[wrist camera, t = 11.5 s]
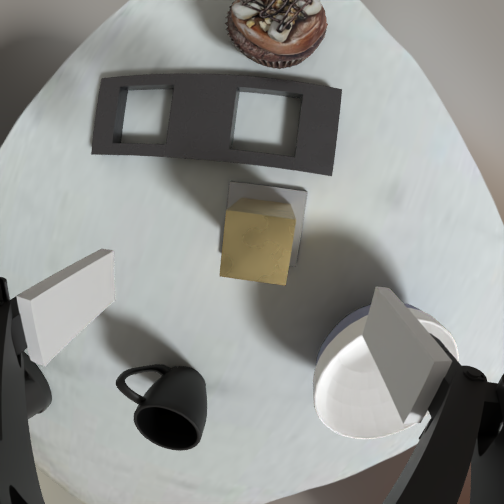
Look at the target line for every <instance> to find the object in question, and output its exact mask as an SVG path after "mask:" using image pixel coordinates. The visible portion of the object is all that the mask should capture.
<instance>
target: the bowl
mask: <svg viewBox="0 0 504 504" xmlns="http://www.w3.org/2000/svg"><path fill="white" fill-rule="evenodd" d="M403 304H404V303H403ZM404 305H405V306H406V307H407V308H408V309H409V310H410V312H411V313H412V314H413V315H414V316H415V317H416V318H417V320H418V321H419V322H420V323H421V324H422V325H423V326H424V328H425V329H426V330H427V331H428V332H429V333H431V334H432V335H434V336H435V337H437V338H438V339H439V340H440V341H441V342H442V343H443V344H444V345H445V347H446V348H447V349H448V350H449V352H450V353H451V354H452V355H453V356H454V357H455V359H456V360H457V361H458V362H459V353H458V349H457V345H456V341H455V340H454V338H453V336H452V335H451V333H450V332H449V331H448V330H447V329H446V328H445V327H443V326H442V325H441V324H440V323H439V322H438V321H437V320H436V319H435V318H433V317H432V316H431V315H429V314H427V313H425V312H423V311H421V310H420V309H418V308H416V307H414V306H412V305H409V304H404ZM370 306H371V305H368V306H365V307H363V308H360V309H358V310H356V311H354V312H353V313H351V314H349V315H348V316H347V317H345V318H344V319H343V320H342V321H340V322H339V324H338V325H337V326H336V327H335V328H334V329H333V330H332V331H331V332H330V334H329V335H328V336H327V338H326V339H325V341H324V342H323V344H322V346H321V348H320V351H319V353H318V356H317V362H316V368H315V372H314V378H313V395H314V407H315V410H316V412H317V415H318V417H319V418H320V420H321V421H322V422H323V423H324V425H325V426H326V427H328V428H329V429H330V430H332V431H333V432H335V433H337V434H340V435H342V436H345V437H350V438H354V439H373V438H381V437H385V436H389V435H392V434H395V433H398V432H400V431H403V430H405V429H407V428H409V427H411V426H413V425H415V424H416V423H412V424H403V422H402V420H401V418H400V416H399V413H398V411H397V409H396V406H395V404H394V402H393V400H392V398H391V395H390V393H389V391H388V389H387V387H386V384H385V382H384V380H383V378H382V376H381V374H380V372H379V369H378V367H377V365H376V363H375V361H374V359H373V357H372V355H371V353H370V351H369V349H368V346H367V344H366V342H365V340H364V338H363V336H362V334H363V331H364V327H365V324H366V320H367V317H368V313H369V310H370ZM429 414H430V413H429V411H427V412H426V414H425V416H424V418H425V417H426V416H427V415H429Z"/></svg>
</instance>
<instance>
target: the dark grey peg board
mask: <svg viewBox="0 0 504 504" xmlns="http://www.w3.org/2000/svg"><path fill="white" fill-rule="evenodd" d="M146 89H174V91H173V98H172V104H171V111H170V119H169V126H168V134H167V143H166V145H160V144H126V143H121V137H122V128H123V121H124V113H125V106H126V100H127V94H128V90H146ZM239 92H251V93H262V94H271V95H279V96H287V97H294V98H301V99H302V101H301V109H300V118H299V126H298V134H297V142H296V150H295V157H289V156H282V155H274V154H267V153H258V152H250V151H241V150H232V145H233V137H234V129H235V121H236V113H237V106H238V98H239ZM341 94H342V89H337V88H332V87H327V86H321V85H315V84H309V83H303V82H296V81H289V80H281V79H272V78H263V77H252V76H239V75H221V74H151V75H134V76H121V77H111V78H102V80H101V86H100V91H99V97H98V104H97V110H96V117H95V125H94V133H93V142H92V153H91V154H98V155H137V156H158V157H175V158H189V159H201V160H213V161H223V162H233V163H242V164H251V165H259V166H267V167H275V168H282V169H289V170H296V171H303V172H309V173H315V174H322V175H328V176H332V171H333V164H334V156H335V149H336V140H337V132H338V123H339V114H340V104H341Z"/></svg>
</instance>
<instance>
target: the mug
mask: <svg viewBox="0 0 504 504" xmlns="http://www.w3.org/2000/svg"><path fill="white" fill-rule="evenodd" d="M142 372H157V373H159V374H161V375H162V377H161V378H160V379H159V380H157V381H156V382H155V383H154V384H153V385H152V386H151V387H150V388H149V389H148V391H147V392H146V393H145V395H144V396H143V397H142V396H140V395H139V394H137V393H135V392H134V391H133V390H131V389H130V388H129V387H128V386H127V385H126V383H125V379H126V378H127V377H128V376H130V375H133V374H137V373H142ZM116 386H117V388H118V389H119V390H120V391H121V392H122V393H123V394H124V395H125V396H127V397H128V398H129V399H131V400H132V401H134V402H135V403H137V404H139V405H138V407H137V409H136V411H135V413H134V422H135V425H136V427H137V429H138V430H139V431H140V433H141V434H142V435H143V436H144V437H145V438H147V439H148V440H150V441H151V442H153V443H154V444H156V445H158V446H161V447H164V448H167V449H171V450H188V449H192V448H193V447H195V446H196V445H197V444H198V443H199V442H200V440H201V437H202V433H203V430H204V426H205V422H206V417H207V395H206V384H205V380H204V379H203V377H202V376H201V375H200V374H199V373H198V372H197V371H195V370H194V369H192V368H189V367H184V366H178V367H174V368H172V369H170V368H169V367H167V366H165V365H161V364H156V365H149V366H143V367H136V368H131V369H128V370H126V371H124V372H123V373H122V374H120V375H119V377H118V378H117V380H116Z"/></svg>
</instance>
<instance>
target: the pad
mask: <svg viewBox="0 0 504 504" xmlns="http://www.w3.org/2000/svg"><path fill="white" fill-rule="evenodd" d="M307 193H308V192H307V191H300V190H294V189H287V188H279V187H272V186H265V185H257V184H249V183H241V182H232V181H230V183H229V192H228V201H227V209H228V208H229V207H231V206H232V205H233V204H234V203H236V202H237V201H238V200H239V199H241V198H250V199H258V200H265V201H273V202H280V203H287V204H291V207H292V209H293V212H294V215H295V217H296V225H295V231H294V238H293V244H292V251H291V257H290V263H289V266H295V267H296V263H297V257H298V251H299V245H300V239H301V233H302V226H303V220H304V213H305V206H306V200H307Z"/></svg>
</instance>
